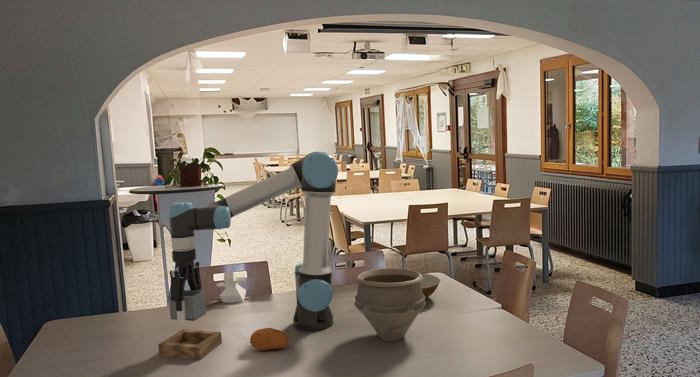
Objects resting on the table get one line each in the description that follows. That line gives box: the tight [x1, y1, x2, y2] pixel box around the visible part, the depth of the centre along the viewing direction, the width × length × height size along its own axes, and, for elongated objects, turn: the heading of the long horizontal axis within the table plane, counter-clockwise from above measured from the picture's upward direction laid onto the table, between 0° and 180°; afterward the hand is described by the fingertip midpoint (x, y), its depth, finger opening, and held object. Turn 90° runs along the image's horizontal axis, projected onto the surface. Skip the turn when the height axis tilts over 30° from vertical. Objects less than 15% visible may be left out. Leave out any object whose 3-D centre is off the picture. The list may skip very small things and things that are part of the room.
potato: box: [249, 327, 290, 352], centre depth 172 cm, size 7×13×7 cm, turn 86°
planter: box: [353, 267, 427, 342], centre depth 178 cm, size 25×24×22 cm
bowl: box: [419, 272, 441, 300], centre depth 219 cm, size 25×25×8 cm
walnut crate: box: [157, 329, 223, 360], centre depth 175 cm, size 15×14×4 cm
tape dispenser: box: [215, 271, 247, 303], centre depth 228 cm, size 8×14×14 cm, turn 84°
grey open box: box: [168, 289, 207, 322], centre depth 173 cm, size 9×7×8 cm
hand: (188, 315), depth 174 cm, fingers closed on grey open box, 7 cm apart
